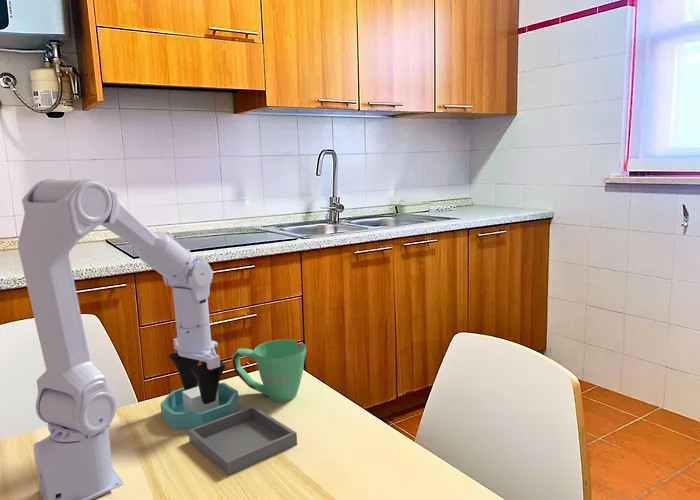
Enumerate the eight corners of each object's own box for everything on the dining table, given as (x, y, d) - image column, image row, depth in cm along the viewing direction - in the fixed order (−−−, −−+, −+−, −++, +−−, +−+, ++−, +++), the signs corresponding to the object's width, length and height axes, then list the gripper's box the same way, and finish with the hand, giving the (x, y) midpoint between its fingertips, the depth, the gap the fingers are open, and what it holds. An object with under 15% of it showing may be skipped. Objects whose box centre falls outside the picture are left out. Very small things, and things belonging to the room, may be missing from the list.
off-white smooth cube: (193, 419, 97) (191, 398, 96) (184, 412, 100) (182, 391, 99) (219, 410, 100) (217, 389, 99) (209, 403, 103) (207, 383, 102)
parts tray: (228, 478, 80) (227, 462, 79) (189, 444, 90) (188, 430, 89) (297, 447, 87) (296, 432, 87) (254, 418, 97) (253, 405, 97)
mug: (314, 388, 109) (311, 340, 107) (300, 411, 100) (297, 359, 98) (245, 384, 112) (241, 338, 110) (225, 406, 103) (220, 356, 101)
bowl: (183, 439, 91) (181, 421, 90) (154, 414, 101) (152, 397, 100) (249, 414, 99) (248, 397, 98) (217, 393, 109) (215, 377, 108)
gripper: (233, 326, 94) (239, 401, 96) (196, 310, 105) (202, 377, 107) (194, 337, 89) (201, 414, 92) (160, 318, 100) (167, 388, 103)
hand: (199, 395), depth 99 cm, fingers open, 7 cm apart
